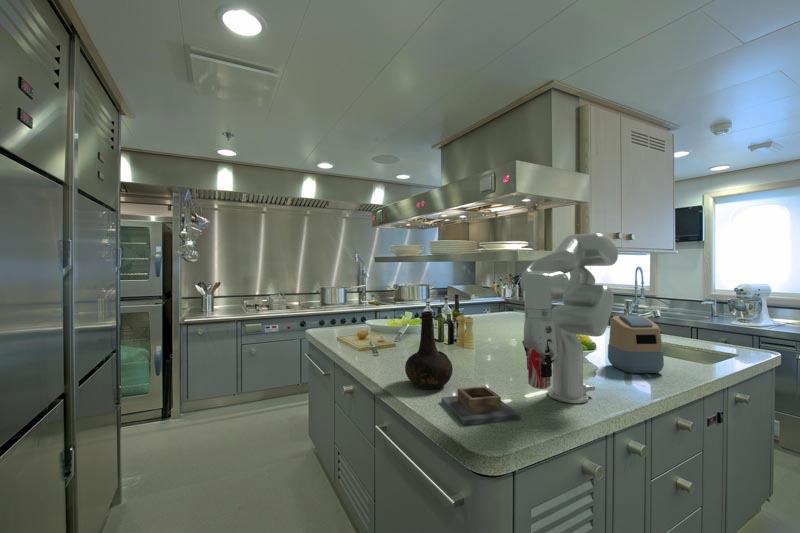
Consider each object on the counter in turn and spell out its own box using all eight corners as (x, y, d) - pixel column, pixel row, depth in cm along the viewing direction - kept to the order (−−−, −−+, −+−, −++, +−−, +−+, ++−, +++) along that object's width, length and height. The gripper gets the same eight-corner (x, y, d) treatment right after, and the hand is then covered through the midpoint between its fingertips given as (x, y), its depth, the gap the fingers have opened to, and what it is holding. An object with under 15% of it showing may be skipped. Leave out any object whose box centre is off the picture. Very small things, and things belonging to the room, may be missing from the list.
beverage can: (528, 381, 109) (528, 343, 109) (550, 384, 107) (549, 345, 106) (527, 388, 103) (527, 348, 103) (550, 391, 101) (550, 350, 101)
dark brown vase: (462, 387, 130) (461, 312, 130) (422, 397, 121) (422, 316, 121) (433, 375, 145) (433, 308, 145) (396, 382, 136) (396, 310, 136)
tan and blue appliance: (628, 375, 144) (628, 319, 144) (604, 364, 161) (604, 314, 161) (668, 375, 145) (668, 319, 145) (640, 364, 161) (639, 314, 161)
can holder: (490, 397, 120) (490, 381, 121) (520, 419, 103) (520, 400, 103) (441, 401, 116) (441, 385, 116) (463, 425, 99) (463, 406, 99)
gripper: (569, 317, 97) (570, 381, 97) (531, 309, 114) (532, 363, 114) (545, 319, 95) (546, 384, 96) (511, 310, 112) (512, 366, 113)
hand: (539, 372), depth 105 cm, fingers closed on beverage can, 6 cm apart
